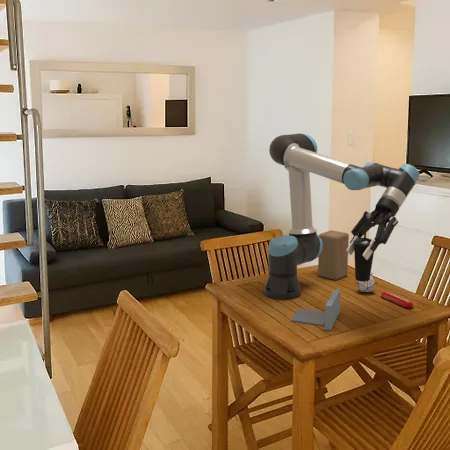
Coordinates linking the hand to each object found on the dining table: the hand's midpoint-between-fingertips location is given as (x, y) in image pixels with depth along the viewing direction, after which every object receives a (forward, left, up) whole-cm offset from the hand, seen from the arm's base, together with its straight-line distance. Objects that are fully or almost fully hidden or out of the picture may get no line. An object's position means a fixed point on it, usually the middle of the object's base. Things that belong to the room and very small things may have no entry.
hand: (356, 255), depth 191 cm
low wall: (-8, +3, -26) cm, 28 cm away
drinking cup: (+2, +3, -10) cm, 10 cm away
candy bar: (+12, +30, -27) cm, 42 cm away
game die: (-1, +38, -26) cm, 46 cm away
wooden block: (-18, +55, -26) cm, 64 cm away
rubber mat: (-16, +3, -26) cm, 31 cm away
